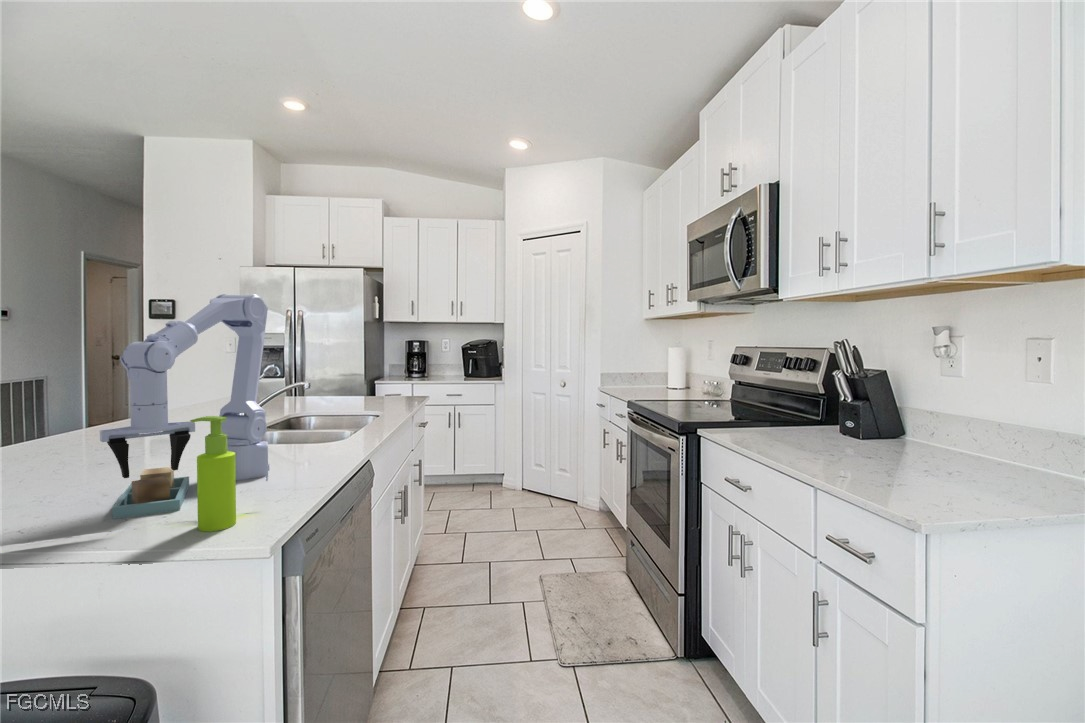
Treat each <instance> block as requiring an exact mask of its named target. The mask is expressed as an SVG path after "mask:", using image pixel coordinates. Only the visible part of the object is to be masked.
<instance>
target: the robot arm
mask: <svg viewBox="0 0 1085 723" xmlns="http://www.w3.org/2000/svg"><path fill="white" fill-rule="evenodd" d="M268 309H269V307H268V306H267V304H266V302H265V301H264V300H263V297H261V296H260V295H258V294H219V295H217V296H215V297H213V298H211V299H210V300H209V304H207V305H206V306H205V307H203V308H202V309H200V310H199V311H197V313H195V314H194V315H192V316H191V317H190V318H188V319H187V320H186V321H182V320H173V321H172V320H170V321H167V322H166V323H165V326H164V328H163V327H162V329H160V330H158V331H156V332H155V333H149V334H148V335H147V336H146V338H145V339H144V341H133V342H131V343H130V344H128V345H127V346H126V347H125V348H124V350H123V352H122V355H120V356H119V360H120V362H121V365H122V367H124V369H125V370H126V377H127V378H128V380H129V405H130V407H129V408H130V426H125V427H118V428H111V429H109V428H108V429H101V430H99V441H100V442H101V443H106V444H107V445H108V446H109V448H110V449H111V451H112V454H114V456H115V458H116V460H117V463H118V465H119V468H120V471H121V476H122V478H123V479H129V478H130V468H129V467H130V466H129V450H130V444H129V443H128V439H137V438H138V439H139V438H146V437H147V438H148V437H155V436H162V435H168V436H169V442H170V467H171V469H172V470H174V471H178V470H179V466H180V462H181V458H182V455H183V453H184V451H185V448H186V447H187V444H188V443H189V441H190V439H191V433H195V432H196V422H191V421H190V420H189V421H180V422H178V421H177V422H169V408H168V406H169V405H168V370H170V369H171V370H172V368H173V366H174V365H175V361H176V359H177V357H179V355H181V354H183V353H184V352H185V351H186V350H188V349H189V348H191V347H193V346H195V345H196V344H197V343H198V340H199V335H201V333H203V332H205V331H207V330H208V329H210V328H212V327H214V326H216V325H217V324H220V322H221V323H222V324H224V325H225V326H226V327H227V328H229V329H230V330H232V331H234V332H235V334H236V335H237V336H238V341H237V347H236V348H237V350H236V357H235V364H234V372H233V379H232V386H231V395H230V401H229V402H227V403H226V404H225V405H223V407H221V408H220V411H219V417H227V420H226V421H223V422H222V433H224V434H226V435H227V451H231V452H235V468H236V481H239V480H247V479H248V480H249V479H253V478H254V479H255V478H261V477H265V481H268V480H269V472H270V463H269V446H268V445H269V444H268V441H265V440H263V439H264V437H265V436H266V433H267V429H268V428H267V426H268V425H267V421H266V415H267V414H266V413H267V411H266V410H265V409H264V408H263V407H261V406H260V405H259V404H258V403H257V400H258V393H259V392H258V391H259V384H260V376H261V368H262V361H263V353H264V344H265V339H266V326H267V318H268V311H269V310H268ZM243 414H246V415H243Z"/></svg>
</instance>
